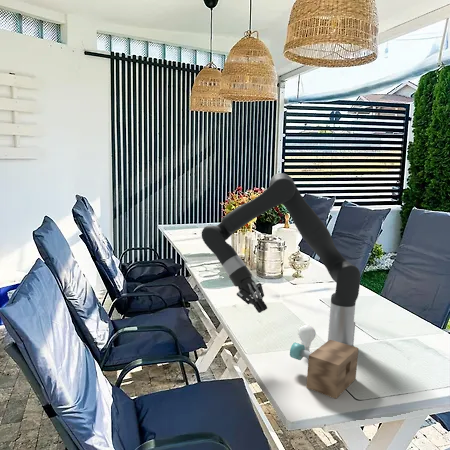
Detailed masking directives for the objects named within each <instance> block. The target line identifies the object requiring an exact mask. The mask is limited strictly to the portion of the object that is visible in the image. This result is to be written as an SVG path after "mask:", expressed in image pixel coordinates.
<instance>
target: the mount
mask: <svg viewBox="0 0 450 450" xmlns="http://www.w3.org/2000/svg"><path fill="white" fill-rule="evenodd" d="M312 352H313V353H311V354H310V355H309V359H308V358H307V359H308V361H307V374H306V375H307V376H306V389H308V390H311V391H314V392H317V393H320V394H322V395H323V396H327V397H330V398H332V399H335V400H337V399H338V398H339V397H340V396H341V394H343V393H344V391H345V390H347V388H349V387H350V385H351V384H352V383H353V382H354V381H355V380H356V379H357V378H356V377H357V370H358V369H357V368H358V360H359V359H358V356H359V347H356V346H354V345H353V346H350V345H347V344H344V343H340V342H337V341H334V340H329V341H328V340H327V341H326V342H324V343H323V344H322V345H320V346H319V347H318V348H316V349H315V350H314V351H312Z"/></svg>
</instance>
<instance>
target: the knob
mask: <svg viewBox="0 0 450 450" xmlns="http://www.w3.org/2000/svg"><path fill="white" fill-rule="evenodd" d="M289 349H290V350H289V357H290V358H292V359H294V360H298V361H301V360H302V359H303V358H305V359H309V355H310V354H311V353H313V352H314V351H311V350H309V351H307V350H305V346H304V345H302V343H298V342H293V343H292V345H291V347H290V348H289Z"/></svg>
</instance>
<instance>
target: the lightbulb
mask: <svg viewBox="0 0 450 450" xmlns="http://www.w3.org/2000/svg"><path fill="white" fill-rule="evenodd" d="M297 335H298V337H299V339H300V341H301V344H302V345H304V346H305V350H307V351H310V347H311V344H312V342H313V341H314V340H315V338H316V335H317V334H316V330H315V328H314V326H312V325H310V324H303V325H302V326H300V327H299V329H298V333H297Z"/></svg>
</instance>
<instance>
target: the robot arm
mask: <svg viewBox="0 0 450 450" xmlns="http://www.w3.org/2000/svg"><path fill="white" fill-rule="evenodd" d="M268 186H269V187H267V188H266V190H264V191H263V192H262V193H260V195H258V196H256V197H255V198H253V199H251V200H250V201H248V202H247V201H246V202H245V203H243V204H241V205H239V206H238V207H236V208H235V209H233V210H232V211H230V212H229V213H227V214H226V215H225V216H223V218H222V220H221V222H220V223H219V224H218V225H206V226H204V227H203V229H202V230H201V239H202V241H203V243H204V244H205V246H206V247H207V248H208V249H209V250H210V251H211V252H212V253H213V255H215V257H216V258H217V260H218V261H219V263H220V264H221V266H222V268H223V270H224V272H225V274H226V275H227V276H228V278H229V279H230V281H231V283H232V284H233V285H234V287H236V288H238V292H236V296H237V297H238V298H240V299H241V300H242V301H243V302H244V303H246V304H247V305H252V306H253V307H254V308H255V310H256V312H257V313H260V314H261V313H263V312H265V311H266V310H268V306H267V304H266V303H265V302H264V300H263V298H264V297H265V292H264V290H263V286H262V285H263V284H262V283H261V282H259V283H256V282H255V280H254V279H252V277H253V274H252V273H251V272H250V269H249V268H248V267H247V265H246V264H245V261H243V259H242V258H241V257H240V256H239V255H238V253H237V252H236V250H235V249H234V247H233V246H232V245H231V244H229V243H228V242H227V240H228V239H229V238H231V236H232V235H233V234H234V233H235V232H237V231H238V230H240V229H241V228H242V227H243V228H244V227H245V226H246V225H247V224H249V223H250V222H251V221H253V220H254V219H256V218H257V217H260V216H261V215H262V214H264V213H266V212H268V211H269V210H271V209H273V208H275V207H277V206H280V205H283V206H284V207H285V209H286V211H287V212H288V214H289V215H290V217H291V219H292V222H293V223H294V225H295V227H296V230H297V231H298V232H299V234H300V236H301V237H302V238H303V240H304V241H305V242H306V244H307V245H308V246H309V247H310V249H311V250H312V251H313V252H314V253H315V255H317V256H318V258H319V259H320V260H321V262H322V263H323V265H324V266H325V269H326V271H327V272H328V274H329V276H330V277H331V278H332V280H333V282H335V283H336V285H335V286H336V287H335V292H334V293H332V294H331V295H330V306H329V307H330V308H329V319H328V320H329V321H328V331H327V332H328V335H327V341H329V340H334V341H337V342H340V343H344V344H347V345H350V346H354V341H355V332H356V331H355V330H356V322H355V314H356V301H357V300H358V298H359V293H360V285H361V271H360V270H359V268H358V267H357V266H356V265H355V264H352V263H351V262H350V261H348V260H347V259H346V258H345V257H344V256H343V255H342V254H341V253H340V251H339V250H338V249H337V247H336V246H335V243H334V240H333V237H332V235H331V233H330V231H329V229H328V228H327V226H326V225H325V223H324V221H322V219H321V218H320V216H318V214H317V213H316V212H315V210H314V209H313V208H312V207H311V206H310V205H309V203H307V201H306V200H305V199H304V197H303V196H302V194H301V192H300V190H299V189H298V187H297V186H296V184H295V181H294V179H293V177H291V176H290V175H289V174H286V173H284V172H283V173H282V172H279V173H276V174H274V175H273V176H272V177H271V179H270V180H269V184H268Z"/></svg>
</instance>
